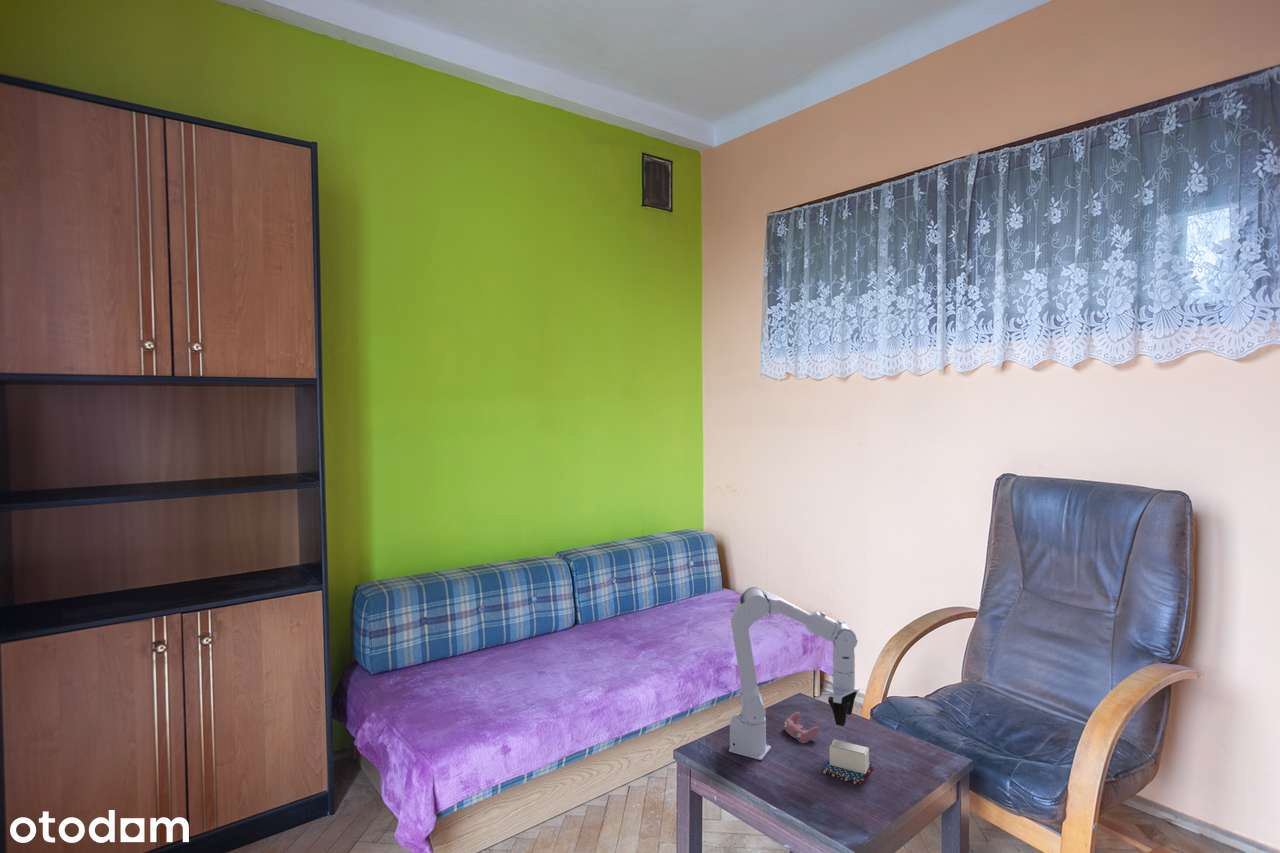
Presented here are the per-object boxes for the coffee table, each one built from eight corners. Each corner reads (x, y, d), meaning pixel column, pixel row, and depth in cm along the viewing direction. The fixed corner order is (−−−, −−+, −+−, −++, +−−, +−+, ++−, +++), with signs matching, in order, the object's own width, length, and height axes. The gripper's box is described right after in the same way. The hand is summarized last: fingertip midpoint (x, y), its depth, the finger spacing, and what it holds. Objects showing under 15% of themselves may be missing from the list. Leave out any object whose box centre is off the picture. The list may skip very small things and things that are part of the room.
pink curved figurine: (798, 724, 197) (778, 729, 194) (798, 710, 197) (779, 714, 194) (820, 742, 188) (800, 748, 186) (821, 727, 188) (801, 732, 185)
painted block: (865, 774, 168) (865, 754, 168) (829, 764, 173) (829, 745, 173) (868, 766, 172) (868, 747, 171) (833, 757, 176) (833, 738, 176)
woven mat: (861, 789, 165) (861, 780, 165) (820, 775, 172) (820, 767, 171) (875, 770, 173) (875, 763, 173) (835, 758, 180) (835, 750, 180)
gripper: (852, 682, 172) (852, 734, 172) (864, 663, 185) (864, 712, 185) (825, 676, 176) (825, 727, 176) (838, 659, 188) (839, 706, 188)
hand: (843, 719), depth 181 cm, fingers open, 7 cm apart
